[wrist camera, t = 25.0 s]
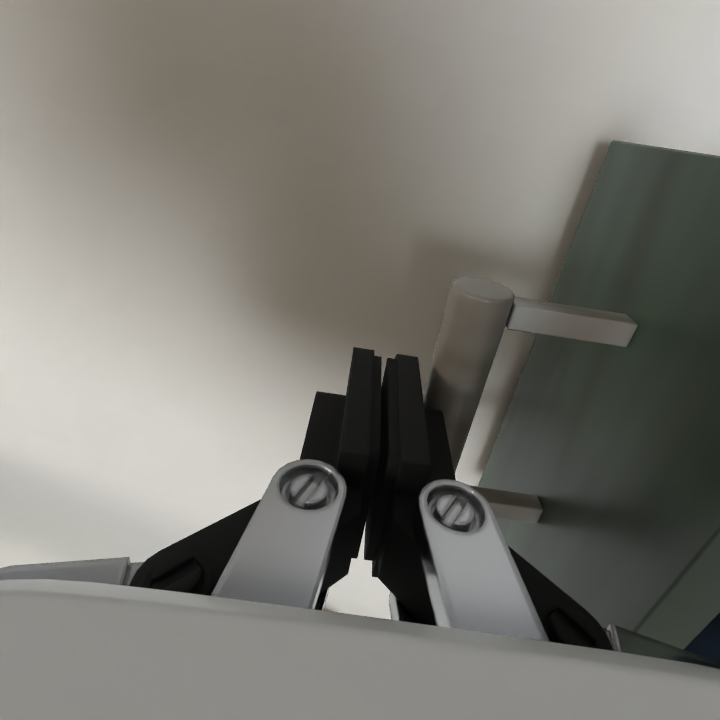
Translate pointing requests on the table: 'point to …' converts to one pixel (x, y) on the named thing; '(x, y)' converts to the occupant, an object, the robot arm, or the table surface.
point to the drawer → (610, 401)
